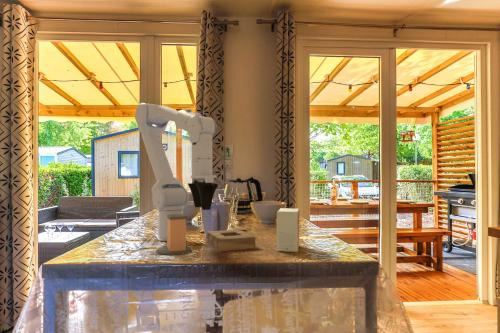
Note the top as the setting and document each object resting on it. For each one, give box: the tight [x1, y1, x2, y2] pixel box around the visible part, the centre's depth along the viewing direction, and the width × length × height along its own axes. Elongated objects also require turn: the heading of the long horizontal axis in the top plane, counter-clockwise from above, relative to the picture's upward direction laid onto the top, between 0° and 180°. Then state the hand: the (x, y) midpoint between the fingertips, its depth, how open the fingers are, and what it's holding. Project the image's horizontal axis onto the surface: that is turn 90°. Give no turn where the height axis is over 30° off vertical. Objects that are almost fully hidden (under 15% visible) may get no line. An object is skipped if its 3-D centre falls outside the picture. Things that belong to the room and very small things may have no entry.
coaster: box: [155, 245, 192, 256], centre depth 87 cm, size 9×9×1 cm
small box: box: [276, 207, 300, 253], centre depth 91 cm, size 8×6×10 cm
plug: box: [166, 213, 187, 251], centre depth 87 cm, size 4×4×9 cm
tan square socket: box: [206, 228, 256, 252], centre depth 95 cm, size 12×10×3 cm
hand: (202, 208), depth 93 cm, fingers open, 7 cm apart
